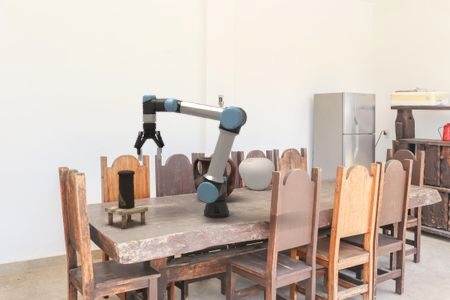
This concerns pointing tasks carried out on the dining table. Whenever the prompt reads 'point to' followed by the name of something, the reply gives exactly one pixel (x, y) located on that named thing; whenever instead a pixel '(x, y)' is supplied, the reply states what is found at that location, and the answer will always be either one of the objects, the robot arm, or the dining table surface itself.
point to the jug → (205, 166)
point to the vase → (256, 172)
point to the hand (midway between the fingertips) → (149, 159)
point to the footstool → (125, 212)
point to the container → (126, 189)
